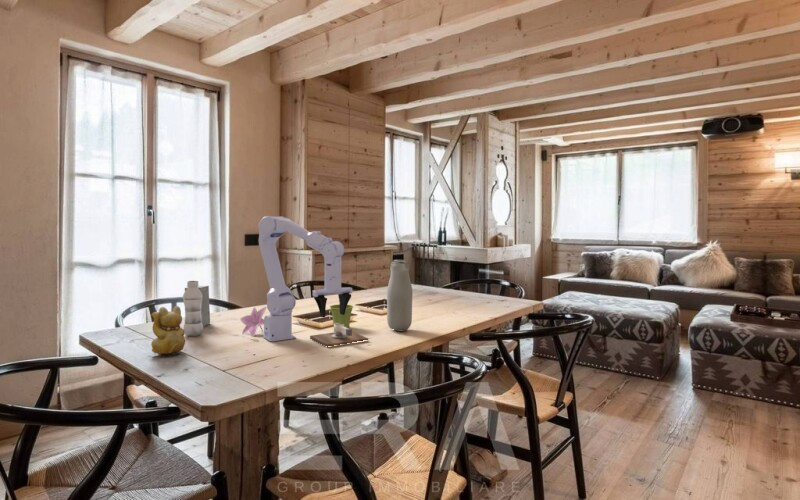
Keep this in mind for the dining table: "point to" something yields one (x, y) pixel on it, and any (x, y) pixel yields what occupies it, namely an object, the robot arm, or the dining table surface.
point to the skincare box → (204, 304)
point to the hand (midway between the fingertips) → (332, 315)
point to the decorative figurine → (167, 332)
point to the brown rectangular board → (337, 338)
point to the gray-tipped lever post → (342, 329)
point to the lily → (253, 321)
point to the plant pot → (339, 317)
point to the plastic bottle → (193, 309)
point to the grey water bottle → (399, 296)
